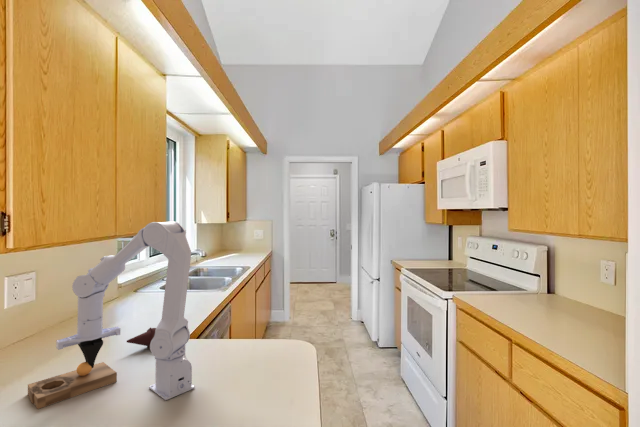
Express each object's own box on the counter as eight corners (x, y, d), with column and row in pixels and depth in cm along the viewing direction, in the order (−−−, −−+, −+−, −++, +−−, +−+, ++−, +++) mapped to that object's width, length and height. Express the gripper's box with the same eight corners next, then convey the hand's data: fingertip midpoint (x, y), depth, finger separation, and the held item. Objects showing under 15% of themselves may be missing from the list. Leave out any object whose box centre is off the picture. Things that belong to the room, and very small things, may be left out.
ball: (95, 363, 92) (80, 363, 90) (91, 377, 91) (76, 377, 89) (91, 360, 94) (77, 360, 92) (87, 373, 94) (73, 374, 91)
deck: (116, 381, 93) (116, 372, 93) (36, 409, 80) (36, 399, 80) (103, 370, 100) (103, 361, 100) (26, 394, 86) (26, 384, 86)
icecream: (130, 337, 108) (179, 331, 118) (126, 325, 114) (173, 320, 123) (126, 357, 109) (175, 349, 119) (123, 344, 115) (170, 338, 125)
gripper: (114, 309, 101) (113, 354, 101) (53, 320, 90) (52, 371, 90) (123, 314, 96) (122, 362, 96) (60, 327, 85) (60, 381, 85)
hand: (89, 367), depth 93 cm, fingers closed, pressing on ball
